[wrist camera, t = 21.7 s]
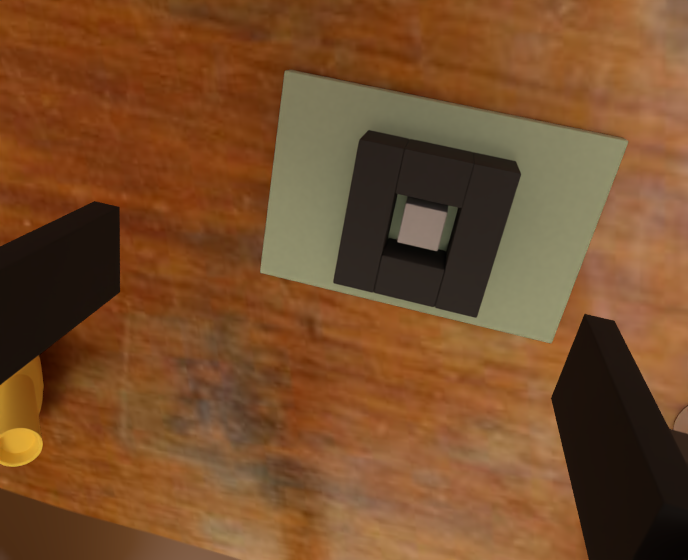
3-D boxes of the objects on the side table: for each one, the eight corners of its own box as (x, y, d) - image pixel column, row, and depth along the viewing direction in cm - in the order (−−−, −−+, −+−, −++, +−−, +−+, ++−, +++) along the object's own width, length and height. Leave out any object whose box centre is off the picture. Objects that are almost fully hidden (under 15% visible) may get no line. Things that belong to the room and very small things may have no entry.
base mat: (289, 69, 31) (270, 73, 28) (624, 137, 30) (643, 150, 26) (264, 267, 36) (245, 289, 33) (549, 336, 35) (557, 366, 31)
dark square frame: (368, 129, 31) (359, 138, 28) (516, 160, 30) (521, 173, 27) (342, 263, 34) (332, 283, 32) (475, 295, 33) (476, 318, 31)
